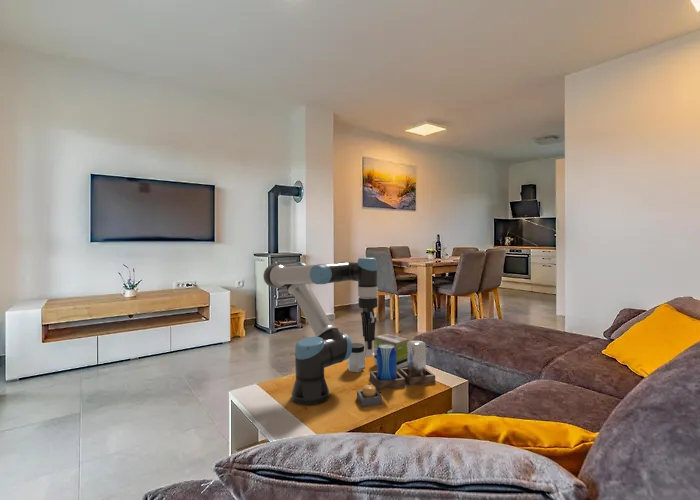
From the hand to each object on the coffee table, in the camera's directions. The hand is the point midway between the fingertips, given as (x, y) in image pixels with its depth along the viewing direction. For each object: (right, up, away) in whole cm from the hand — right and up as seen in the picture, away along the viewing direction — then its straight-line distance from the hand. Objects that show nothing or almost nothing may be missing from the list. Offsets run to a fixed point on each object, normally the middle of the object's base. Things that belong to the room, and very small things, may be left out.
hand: (368, 356), depth 141 cm
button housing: (0, -18, +1) cm, 18 cm away
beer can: (+9, -16, +15) cm, 24 cm away
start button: (0, -15, +1) cm, 15 cm away
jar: (-4, -17, +36) cm, 40 cm away
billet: (+22, -16, +19) cm, 33 cm away
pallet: (+16, -17, +17) cm, 29 cm away
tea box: (+13, -17, +39) cm, 44 cm away
